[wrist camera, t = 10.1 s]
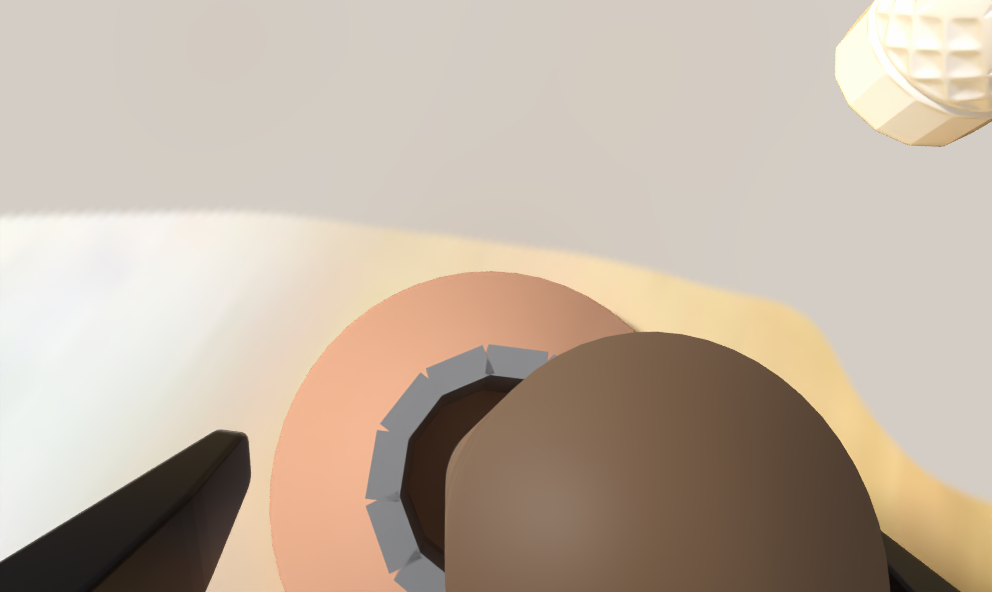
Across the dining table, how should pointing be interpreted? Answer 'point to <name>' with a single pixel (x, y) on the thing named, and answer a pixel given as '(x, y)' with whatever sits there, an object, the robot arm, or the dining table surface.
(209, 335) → the dining table surface
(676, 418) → the walnut dowel
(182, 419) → the dining table surface
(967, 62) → the white cup
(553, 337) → the dowel holder
